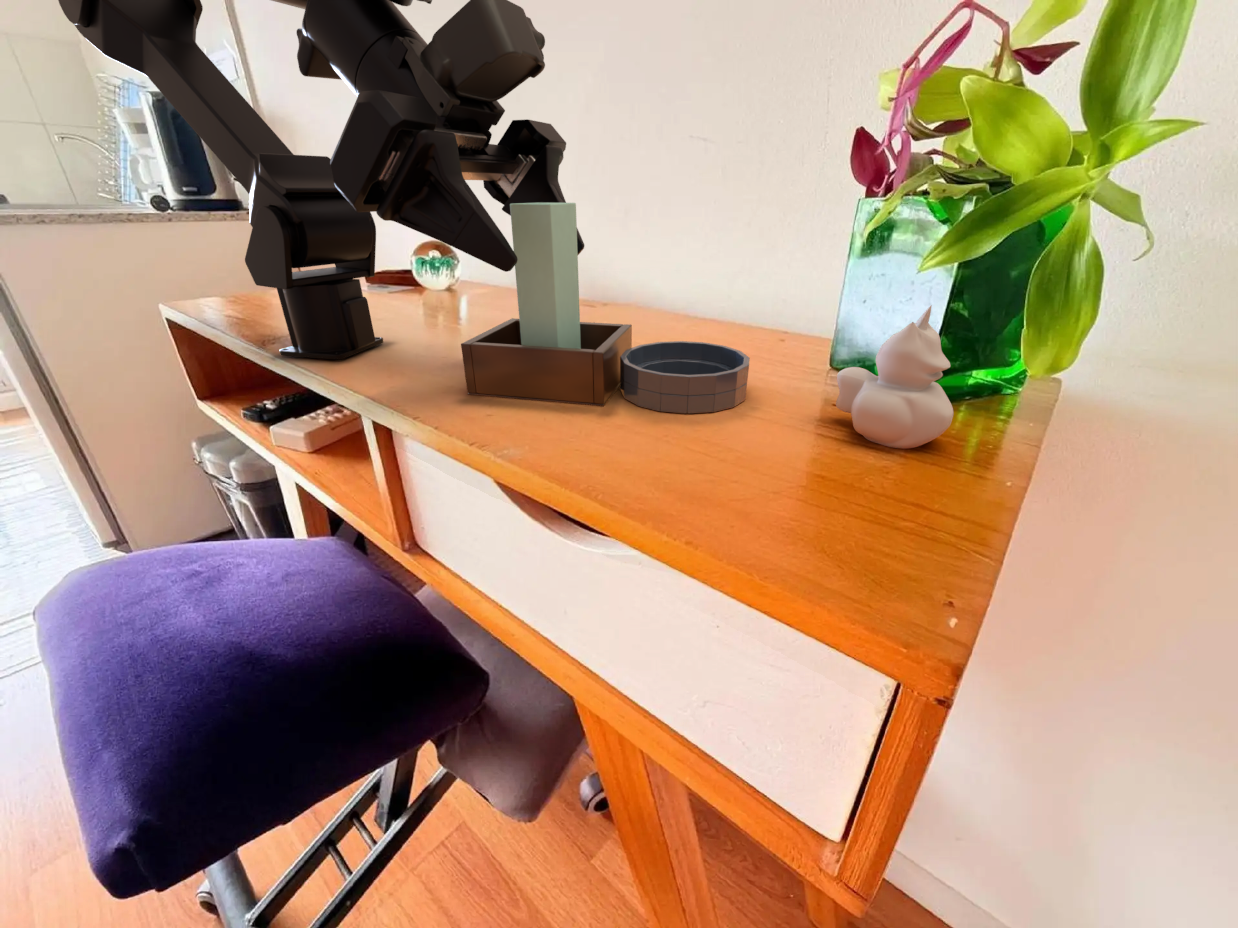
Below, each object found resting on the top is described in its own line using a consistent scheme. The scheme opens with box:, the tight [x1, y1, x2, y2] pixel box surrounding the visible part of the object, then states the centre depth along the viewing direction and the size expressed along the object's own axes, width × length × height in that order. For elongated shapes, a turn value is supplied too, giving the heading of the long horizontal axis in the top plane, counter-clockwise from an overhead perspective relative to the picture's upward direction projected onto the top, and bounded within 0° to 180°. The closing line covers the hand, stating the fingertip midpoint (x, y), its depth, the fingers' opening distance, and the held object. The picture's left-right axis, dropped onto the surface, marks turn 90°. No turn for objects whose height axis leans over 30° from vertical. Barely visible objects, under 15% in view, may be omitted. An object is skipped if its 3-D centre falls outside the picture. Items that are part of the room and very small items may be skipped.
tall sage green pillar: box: [510, 202, 581, 349], centre depth 38 cm, size 3×4×12 cm
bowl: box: [619, 340, 751, 415], centre depth 38 cm, size 9×9×3 cm
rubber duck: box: [835, 304, 954, 450], centre depth 31 cm, size 5×7×8 cm
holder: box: [460, 317, 633, 407], centre depth 40 cm, size 10×8×4 cm
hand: (549, 258), depth 37 cm, fingers open, 9 cm apart
